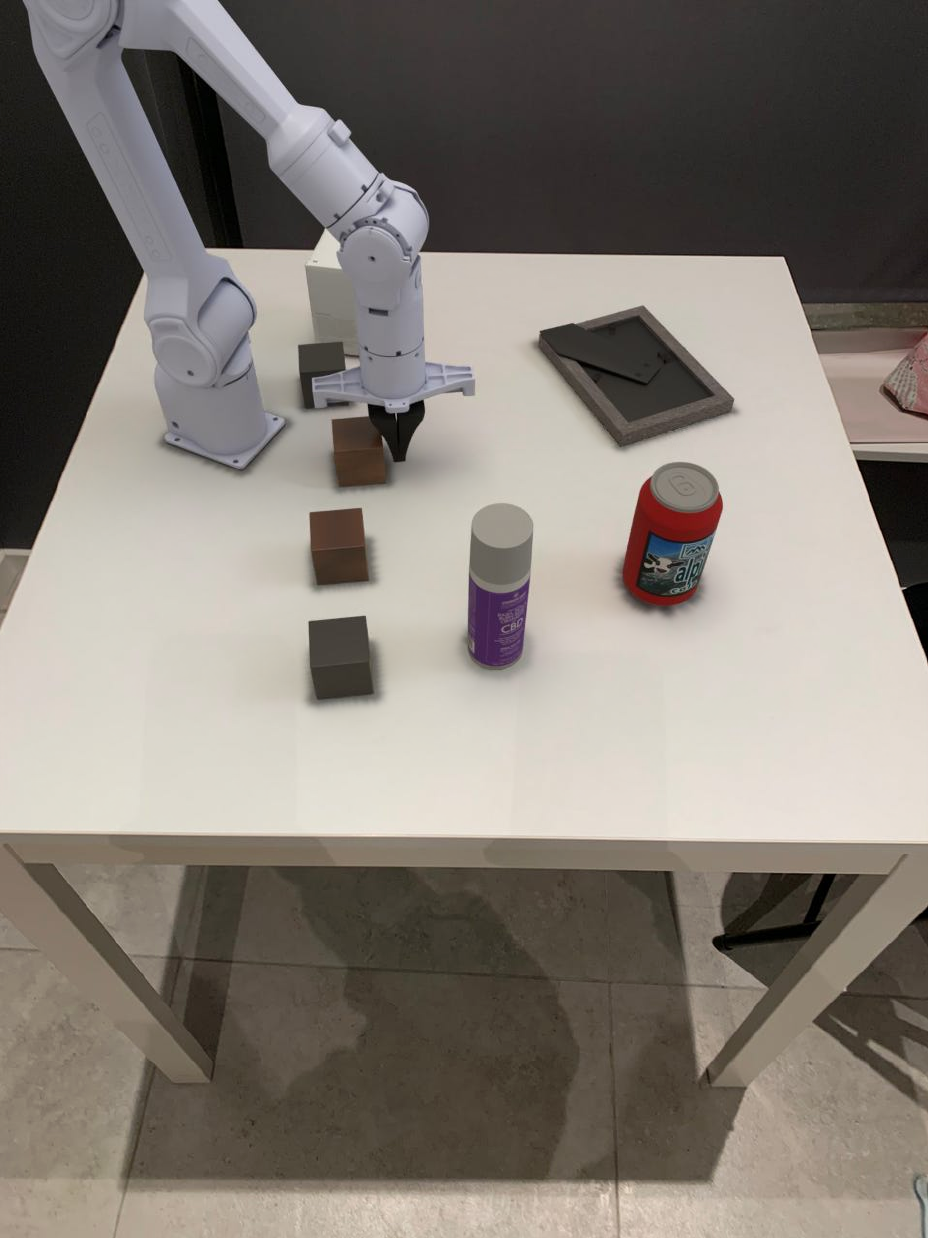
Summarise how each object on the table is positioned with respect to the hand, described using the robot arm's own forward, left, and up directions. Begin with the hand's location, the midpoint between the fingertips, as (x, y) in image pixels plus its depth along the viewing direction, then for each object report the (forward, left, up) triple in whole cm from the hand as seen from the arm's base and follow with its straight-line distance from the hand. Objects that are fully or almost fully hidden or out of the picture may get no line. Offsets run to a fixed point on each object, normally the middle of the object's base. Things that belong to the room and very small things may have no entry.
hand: (398, 455), depth 91 cm
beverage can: (+28, -3, -2) cm, 28 cm away
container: (+18, -16, -2) cm, 24 cm away
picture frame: (+16, +23, -2) cm, 28 cm away
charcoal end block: (-12, +6, -1) cm, 14 cm away
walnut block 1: (-3, -2, -1) cm, 4 cm away
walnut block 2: (+1, -14, -1) cm, 14 cm away
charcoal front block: (+8, -24, -1) cm, 25 cm away
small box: (-15, +16, -2) cm, 22 cm away
